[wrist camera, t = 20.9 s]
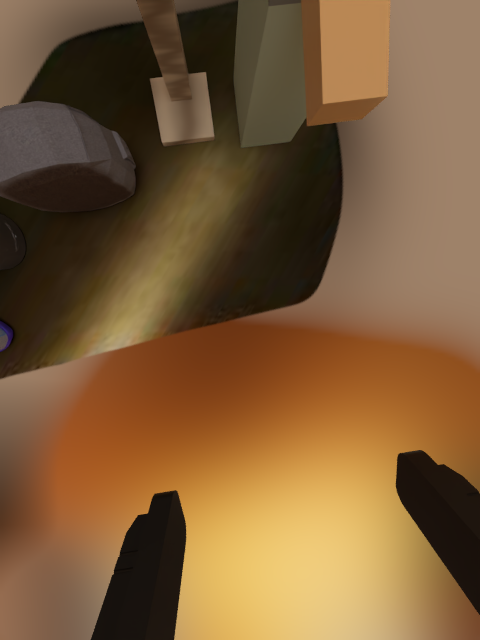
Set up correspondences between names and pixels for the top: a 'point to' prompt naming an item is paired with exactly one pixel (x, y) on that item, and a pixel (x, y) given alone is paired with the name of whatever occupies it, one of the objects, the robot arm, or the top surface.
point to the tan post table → (175, 80)
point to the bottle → (5, 336)
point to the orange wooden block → (344, 58)
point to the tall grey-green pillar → (269, 71)
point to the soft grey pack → (62, 159)
